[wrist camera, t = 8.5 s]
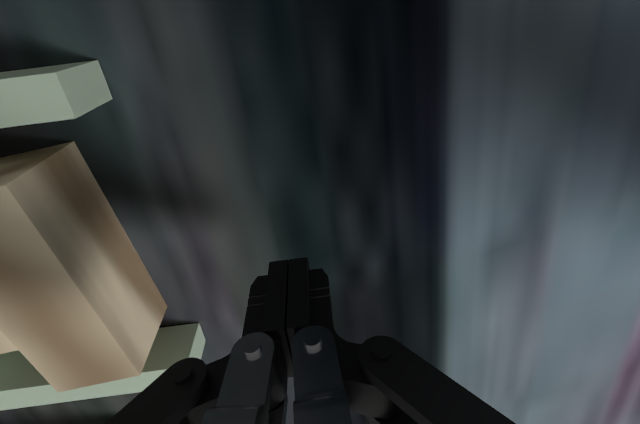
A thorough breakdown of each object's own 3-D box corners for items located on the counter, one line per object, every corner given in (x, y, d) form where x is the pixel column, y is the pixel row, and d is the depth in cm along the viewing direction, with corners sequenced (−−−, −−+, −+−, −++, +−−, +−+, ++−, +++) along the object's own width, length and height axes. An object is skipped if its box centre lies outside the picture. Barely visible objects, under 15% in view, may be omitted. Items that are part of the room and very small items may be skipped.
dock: (98, 60, 14) (55, 72, 12) (205, 340, 22) (194, 384, 20) (-248, 103, 14) (-369, 126, 12) (-16, 369, 22) (-57, 417, 20)
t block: (74, 141, 16) (5, 185, 12) (167, 306, 21) (140, 375, 17) (-143, 190, 16) (-279, 248, 12) (0, 341, 21) (-64, 417, 17)
